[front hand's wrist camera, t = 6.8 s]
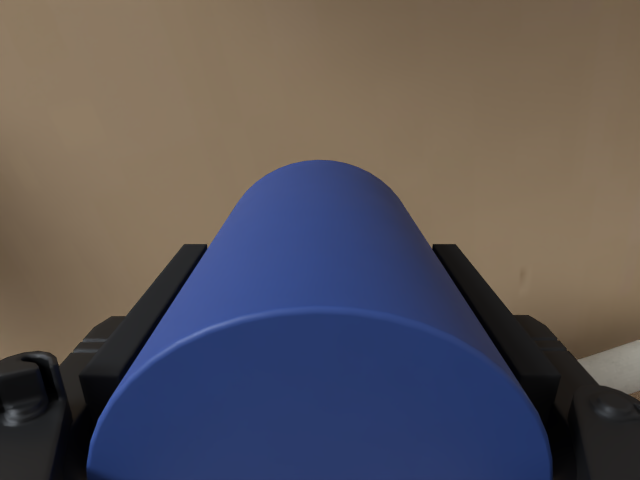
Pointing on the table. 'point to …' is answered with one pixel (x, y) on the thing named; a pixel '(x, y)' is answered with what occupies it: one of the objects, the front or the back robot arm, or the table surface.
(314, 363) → the can
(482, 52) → the table surface
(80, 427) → the front robot arm
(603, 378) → the dog toy
